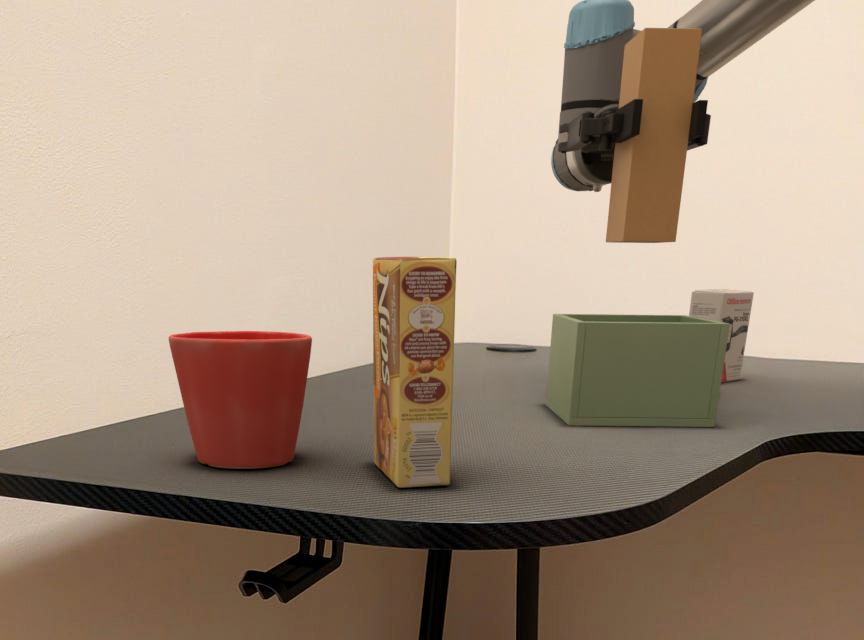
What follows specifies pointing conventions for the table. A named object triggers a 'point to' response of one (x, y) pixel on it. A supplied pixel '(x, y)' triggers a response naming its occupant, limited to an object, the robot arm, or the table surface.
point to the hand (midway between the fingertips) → (669, 117)
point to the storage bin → (636, 369)
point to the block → (654, 135)
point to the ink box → (728, 310)
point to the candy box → (413, 368)
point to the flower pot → (242, 394)
